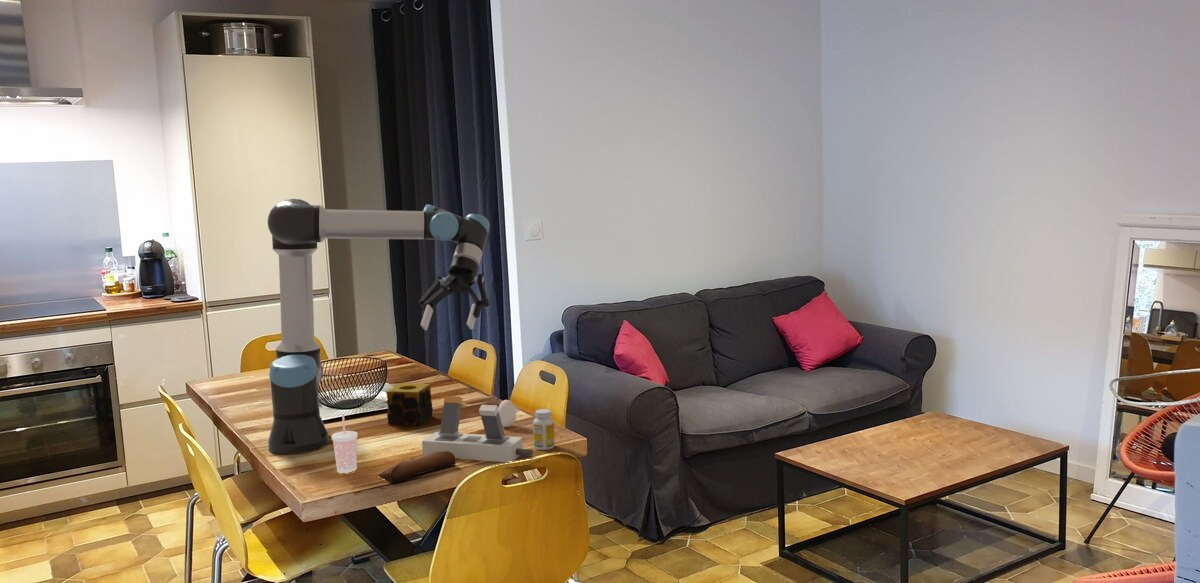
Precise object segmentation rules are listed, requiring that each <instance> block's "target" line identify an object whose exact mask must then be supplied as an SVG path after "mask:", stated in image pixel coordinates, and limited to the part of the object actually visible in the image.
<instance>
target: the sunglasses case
mask: <svg viewBox="0 0 1200 583" xmlns="http://www.w3.org/2000/svg"><path fill="white" fill-rule="evenodd" d="M456 463H457V460H456V459H455V456H454V455H453V453H451V452H449V451H439V452H432V453H428V454H425V455H423V454H422V455H419V456H417V457H412V458H410V459H408V460H402V461H400V462H398V464H396V465H395V466H393V467H390V468H388V469H387V468H386V469H385V470H384V471H382V472H380V473H378V474H377V476H379V477H381V478H383V479H385V480H386V481H388V482H390V483H389V484H390V485H394V484H397V483H399V482H402V481H405V480H407V479H409V478H412V477H414V476H417V475H420V474H424V473H427V472H431V471H432V470H438V469H441V468H443V467H446V466H450V465H452V464H454V465H453V466H456ZM386 481H385V482H386ZM388 482H387V483H388Z"/></svg>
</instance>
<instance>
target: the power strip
mask: <svg viewBox="0 0 1200 583" xmlns="http://www.w3.org/2000/svg"><path fill="white" fill-rule="evenodd" d="M438 432H439V431H435V432H434V433H432V434H430V435H429V436H427V437H425V438H424V439H422V440H421V447H422V455H425V454H428V453H432V452H439V451H449V452H451V453H453V455H454V456H455V458H460V459H459V460H468V459H476V460H475V461H483V462H486V461H487V462H496V463H497V462H499V463H509V462H508V461H512V462H514V461H515V460H516V459H517V458H518V457H520V456H525V457H533V455H534V449H532V448H530V449H529V448H524V444H523V441H524V440H523V437H522V436H511V435H510V436H508V435H506V440H495V439H486V438H485V435H486V434H480V433H479V434H477V433H460V432H459V436H458V437H454V436H439V435H438ZM513 460H514V461H513Z"/></svg>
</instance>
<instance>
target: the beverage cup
mask: <svg viewBox="0 0 1200 583" xmlns="http://www.w3.org/2000/svg"><path fill="white" fill-rule="evenodd" d="M341 419H342V420H341V421H342V431H337V432H335V433H333V434H331V441H332V442H333V443H332V444H333V449H334V450H333V451H334V458H335V465H336V472H337V473H338V472H339V473H338V474H342V473H346V474H349V473H348V472H352V471H354V472H356V471H357V470H356V469H357V468H358V466H357V464H358V463H357V453H358V452H357V448H358V447H357V445H358V443H357V439H358V432H357V431H353V430H346V423H345V420H346V419H345V413H342V415H341ZM355 470H356V471H355ZM352 473H353V472H352Z"/></svg>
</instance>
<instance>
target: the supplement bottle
mask: <svg viewBox="0 0 1200 583" xmlns="http://www.w3.org/2000/svg"><path fill="white" fill-rule="evenodd" d="M535 417H536V418H534V419H533V421H532V425H533V426H532V427H533V428H532V429H533V431H532V432H533V436H532V437H533V448H534V449H535V450H538V451H546V450H547V451H548V450H552V449H553V448H554V447H555V420H554V419H553V418H552V410H550V409H548V408H540V409H537V410H535Z"/></svg>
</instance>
